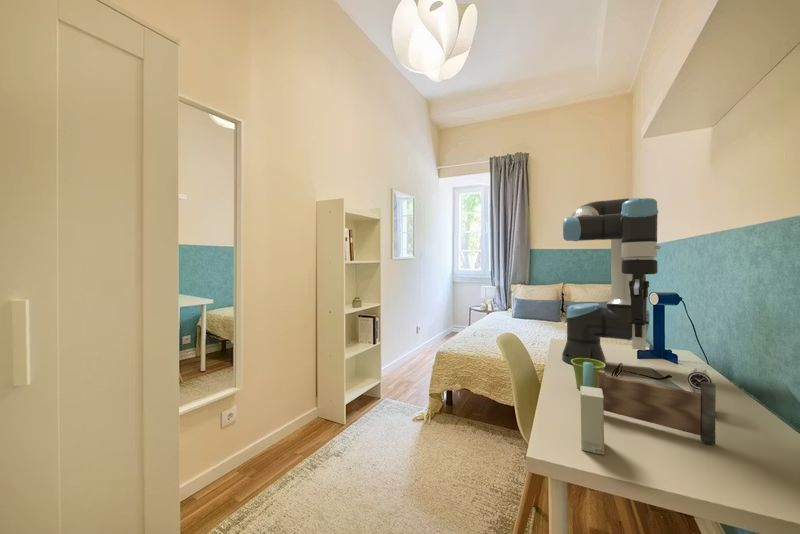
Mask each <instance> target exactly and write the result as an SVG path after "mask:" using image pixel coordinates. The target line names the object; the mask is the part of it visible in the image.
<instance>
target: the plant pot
mask: <svg viewBox="0 0 800 534" xmlns="http://www.w3.org/2000/svg"><path fill="white" fill-rule="evenodd" d="M583 362H590V363H593V387H594V388H597V371H598V370H601V371H605V368H606V366H607V365H605V363H603V362H601V361H598V360H594V359H587V358H575V359H572V360H571V363H572V364H573V365H572V364H571V365H572V368H573V370H574V371H573V372H574V376H575V384H576V388H577V389H578V390H580V386H583Z"/></svg>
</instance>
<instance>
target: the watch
mask: <svg viewBox="0 0 800 534" xmlns="http://www.w3.org/2000/svg"><path fill="white" fill-rule="evenodd" d="M686 381H687V384H688V386H689V388H690V392H695V393H700V394H701V382H710V383H713V384H715V382H713V381H712V379H711V377H710V375H709V372H707V369H703V368H697V367H695V368H694V369H692V370H691V371H690V373H688V375H687V376H686Z"/></svg>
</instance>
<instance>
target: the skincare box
mask: <svg viewBox="0 0 800 534" xmlns="http://www.w3.org/2000/svg"><path fill="white" fill-rule="evenodd" d="M579 390H580V391H579V393H580V394H579V396H580V397H579V398H580V432H581V433H580V436H581V437H580V439H581V441H580V444H581V450H582V451H586V452H589V453H594V454H597V455H598V454H599V455H601V456H605V426H604V425H605V424H604V423H605V422H604V421H605V420H604V419H605V417H604V413H605V411H604V409H603V392H602V389H601V388H594V387H587V386H580V389H579Z"/></svg>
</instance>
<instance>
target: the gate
mask: <svg viewBox="0 0 800 534" xmlns="http://www.w3.org/2000/svg"><path fill="white" fill-rule="evenodd" d="M713 383H714V382H712V383H710V382H701V394H700V393H695V392H693V391H691V390H690V391H689V390H684V389H679V388H674V387H668V386H664V385H663V386H662V385H659V384H654V383H648V382H642V381H638V380H633V379H628V378H623V377H618V376H612V375H608V374H606V370H603V371H601V370H598V371H597V388H601V389H602V392H603V409H604V412H609V413H613V414H616V415H620V416H623V417H627V418H631V419H635V420H639V421H643V422H647V423H650V424H655V425H658V426H662V427H666V428H669V429H673V430H678V431H680V432H681V431H682V432H685V433H688V434H689V433H690V434H691V435H692V434H693V435H697V436H700V441H701V442H702V443H704V444H706V445H707V444H708V445H712V446H713V445H716V418H717V417H716V413H717V412H716V411H717V409H716V408H717V407H716V406H717V404H716V401H717V400H716V396H717V395H716V394H717V393H716V392H717V391H716V390H717V389H716V388H717V386H716V383H714V384H713Z"/></svg>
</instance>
